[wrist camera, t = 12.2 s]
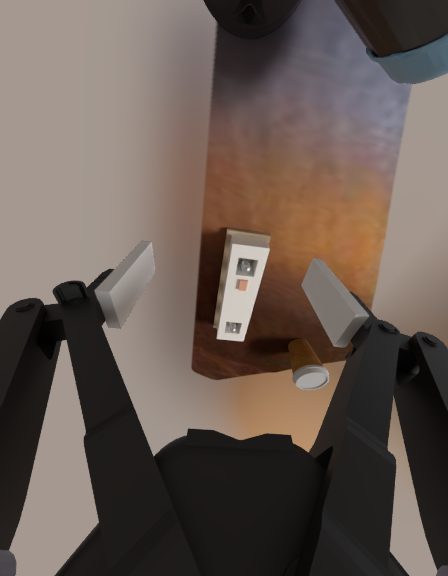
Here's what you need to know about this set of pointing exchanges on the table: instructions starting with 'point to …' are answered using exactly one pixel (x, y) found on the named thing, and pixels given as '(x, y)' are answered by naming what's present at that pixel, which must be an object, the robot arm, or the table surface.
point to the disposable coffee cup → (306, 366)
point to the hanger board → (225, 259)
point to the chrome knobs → (246, 269)
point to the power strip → (241, 285)
